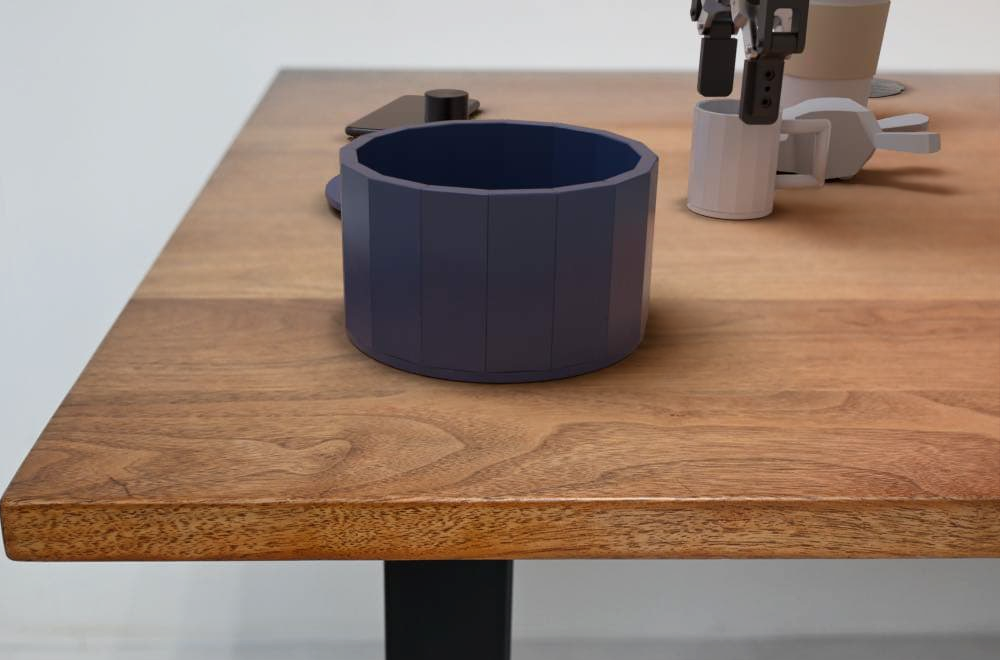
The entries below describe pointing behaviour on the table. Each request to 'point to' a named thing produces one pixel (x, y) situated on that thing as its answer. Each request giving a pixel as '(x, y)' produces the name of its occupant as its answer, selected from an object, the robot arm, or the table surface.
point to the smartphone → (395, 115)
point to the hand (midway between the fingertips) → (734, 109)
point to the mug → (745, 161)
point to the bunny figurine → (851, 137)
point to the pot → (497, 248)
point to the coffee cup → (836, 52)
